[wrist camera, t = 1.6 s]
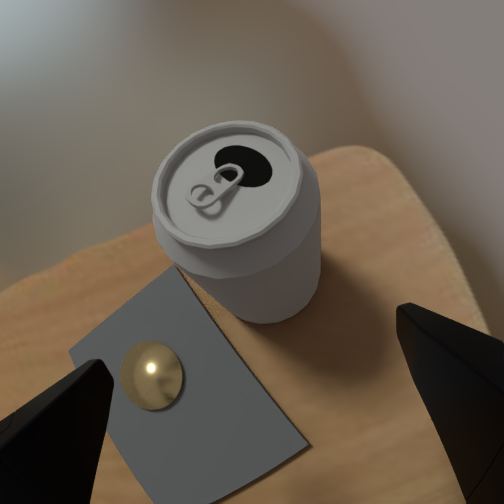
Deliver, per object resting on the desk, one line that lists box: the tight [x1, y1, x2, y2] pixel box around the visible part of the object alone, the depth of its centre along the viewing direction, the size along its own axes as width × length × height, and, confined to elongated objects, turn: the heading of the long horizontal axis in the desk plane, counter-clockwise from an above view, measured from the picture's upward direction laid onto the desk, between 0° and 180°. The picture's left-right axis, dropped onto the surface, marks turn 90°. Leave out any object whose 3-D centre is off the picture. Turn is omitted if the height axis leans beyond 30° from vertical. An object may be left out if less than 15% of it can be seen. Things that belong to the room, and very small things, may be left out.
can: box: [151, 121, 321, 324], centre depth 18 cm, size 8×8×12 cm
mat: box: [69, 265, 309, 504], centre depth 20 cm, size 16×12×1 cm
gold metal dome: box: [120, 341, 184, 410], centre depth 21 cm, size 5×5×1 cm
